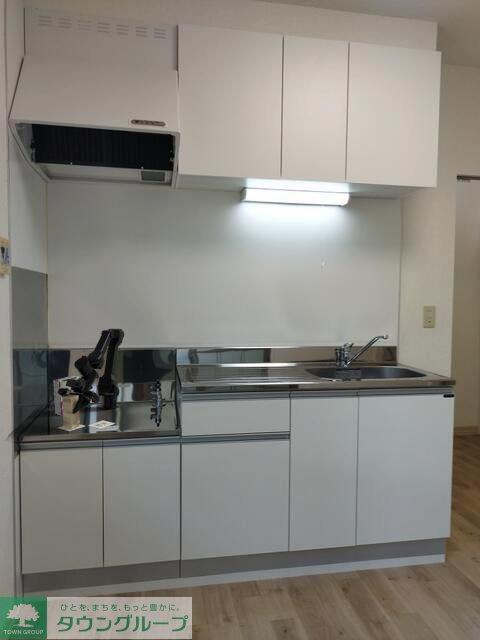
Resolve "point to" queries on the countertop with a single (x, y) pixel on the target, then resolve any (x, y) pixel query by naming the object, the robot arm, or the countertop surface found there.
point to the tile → (70, 429)
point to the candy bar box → (57, 398)
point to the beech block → (70, 412)
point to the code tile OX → (101, 424)
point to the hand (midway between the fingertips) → (68, 412)
